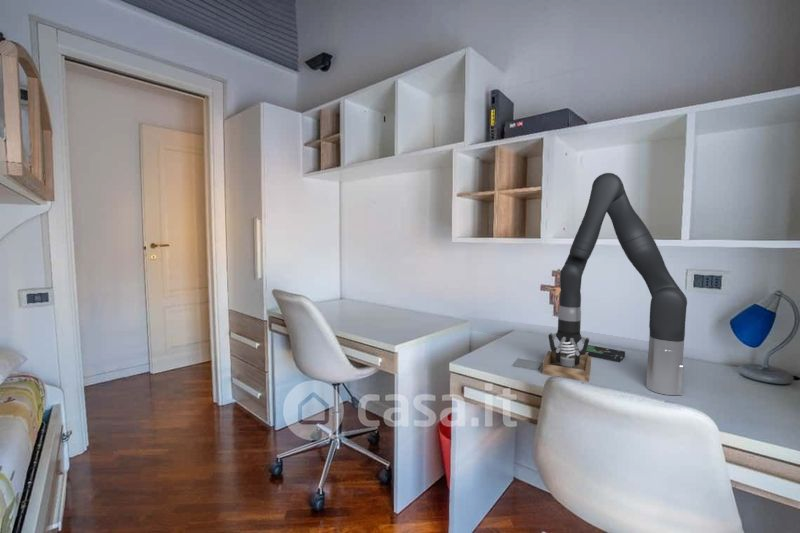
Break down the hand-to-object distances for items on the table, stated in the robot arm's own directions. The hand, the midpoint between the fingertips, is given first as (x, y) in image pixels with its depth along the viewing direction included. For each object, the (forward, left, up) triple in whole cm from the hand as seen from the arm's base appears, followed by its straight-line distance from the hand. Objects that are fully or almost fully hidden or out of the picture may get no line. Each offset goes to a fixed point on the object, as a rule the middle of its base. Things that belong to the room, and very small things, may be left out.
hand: (567, 363), depth 141 cm
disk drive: (-11, -28, -4) cm, 30 cm away
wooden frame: (0, 0, -3) cm, 3 cm away
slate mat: (+14, 0, -3) cm, 14 cm away
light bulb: (0, 0, -3) cm, 3 cm away
